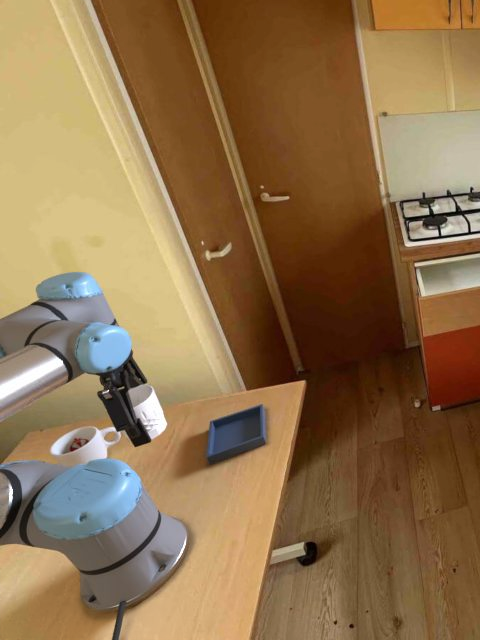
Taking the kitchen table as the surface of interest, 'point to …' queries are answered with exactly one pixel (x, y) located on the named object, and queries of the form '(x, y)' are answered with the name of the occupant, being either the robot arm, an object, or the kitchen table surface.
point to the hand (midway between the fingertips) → (147, 429)
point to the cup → (82, 446)
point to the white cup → (147, 410)
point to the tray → (236, 433)
